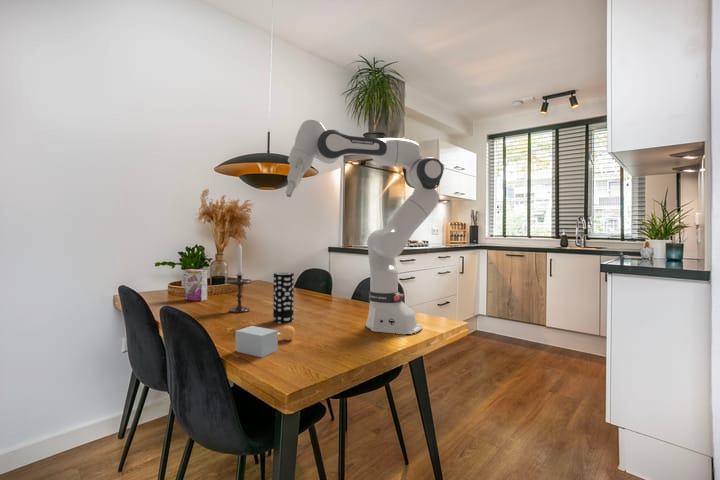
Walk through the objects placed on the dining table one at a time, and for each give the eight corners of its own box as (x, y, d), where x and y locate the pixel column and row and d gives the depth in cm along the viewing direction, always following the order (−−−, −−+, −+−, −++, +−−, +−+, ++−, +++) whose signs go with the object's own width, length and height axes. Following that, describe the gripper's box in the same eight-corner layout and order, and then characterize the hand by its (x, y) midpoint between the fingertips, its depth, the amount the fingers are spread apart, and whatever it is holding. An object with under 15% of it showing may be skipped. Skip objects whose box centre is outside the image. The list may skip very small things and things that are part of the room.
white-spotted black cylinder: (288, 324, 148) (289, 275, 147) (269, 322, 149) (270, 274, 149) (296, 319, 156) (296, 273, 155) (278, 318, 157) (278, 272, 157)
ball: (298, 339, 127) (298, 325, 127) (288, 343, 123) (289, 328, 122) (287, 337, 129) (287, 323, 129) (277, 340, 125) (277, 326, 125)
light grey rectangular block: (277, 350, 115) (277, 330, 114) (261, 357, 108) (261, 335, 108) (251, 345, 120) (252, 325, 120) (235, 351, 114) (235, 330, 113)
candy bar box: (184, 300, 195) (184, 269, 194) (191, 298, 199) (191, 269, 199) (201, 301, 191) (201, 270, 191) (207, 300, 196) (207, 269, 196)
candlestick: (223, 310, 170) (223, 236, 169) (244, 307, 178) (244, 236, 177) (234, 314, 163) (234, 237, 162) (255, 311, 170) (256, 237, 170)
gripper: (309, 158, 127) (296, 195, 127) (307, 169, 147) (296, 200, 147) (291, 151, 126) (278, 189, 126) (292, 163, 146) (281, 195, 146)
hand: (288, 195), depth 136 cm, fingers open, 8 cm apart
